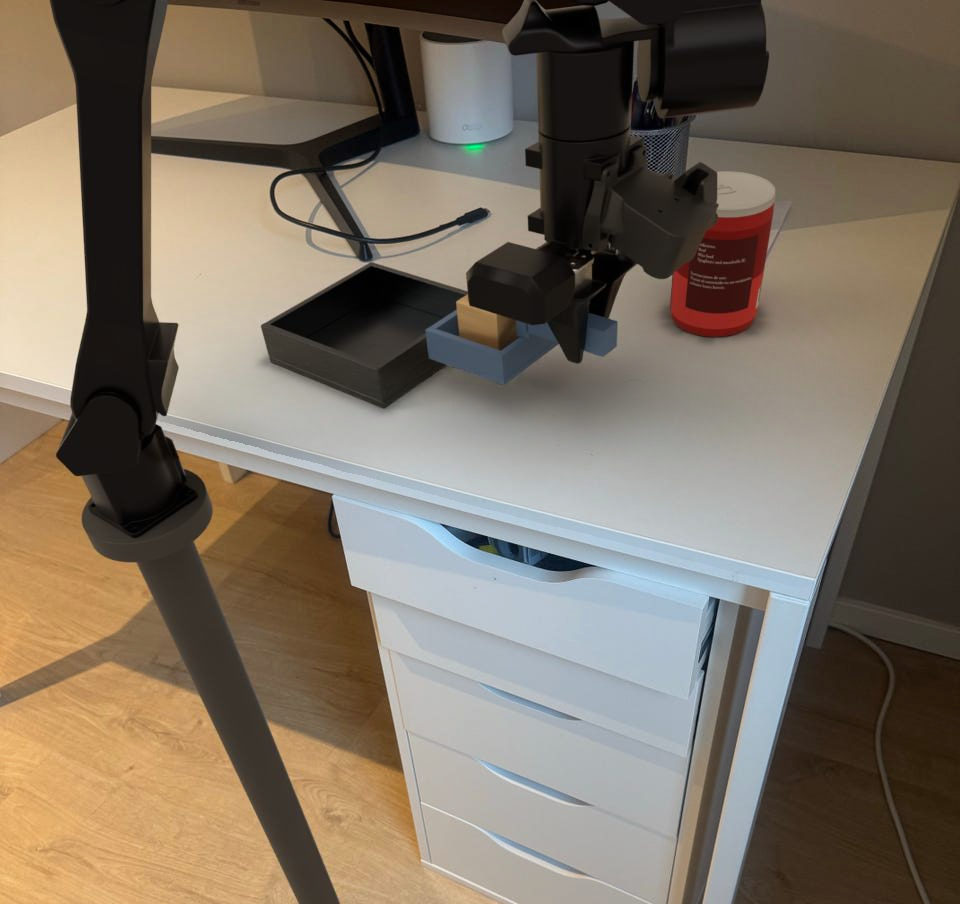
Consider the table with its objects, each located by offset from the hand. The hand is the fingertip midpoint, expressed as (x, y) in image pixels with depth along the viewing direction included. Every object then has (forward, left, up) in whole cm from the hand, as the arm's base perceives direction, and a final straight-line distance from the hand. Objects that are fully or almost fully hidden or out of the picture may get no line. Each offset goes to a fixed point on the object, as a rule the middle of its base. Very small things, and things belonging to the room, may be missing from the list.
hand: (582, 355), depth 67 cm
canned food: (+20, 0, -6) cm, 21 cm away
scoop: (0, +5, -2) cm, 5 cm away
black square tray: (0, +22, -6) cm, 23 cm away
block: (0, +9, -2) cm, 9 cm away
